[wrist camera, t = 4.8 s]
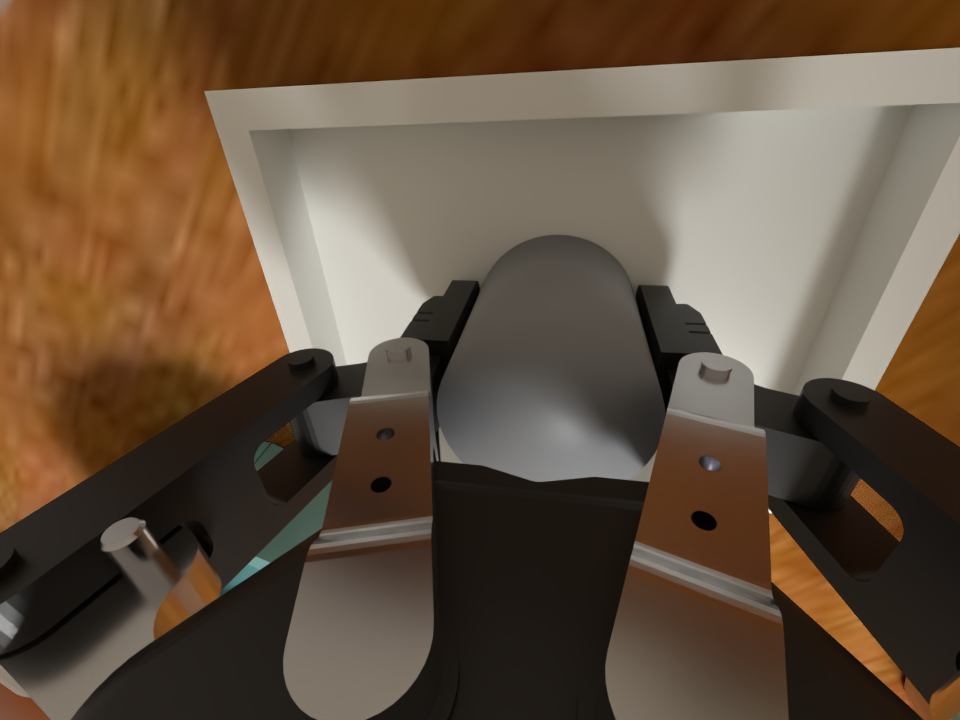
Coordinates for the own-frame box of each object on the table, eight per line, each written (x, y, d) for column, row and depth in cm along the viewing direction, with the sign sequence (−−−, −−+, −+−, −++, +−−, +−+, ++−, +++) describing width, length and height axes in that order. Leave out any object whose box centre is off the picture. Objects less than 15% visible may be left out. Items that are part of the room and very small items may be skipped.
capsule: (645, 235, 11) (688, 329, 7) (623, 377, 14) (645, 509, 9) (476, 234, 12) (424, 317, 8) (483, 368, 14) (446, 487, 10)
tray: (962, 48, 9) (1063, 41, 7) (777, 463, 15) (806, 516, 13) (262, 88, 11) (204, 91, 10) (352, 426, 18) (327, 465, 16)
